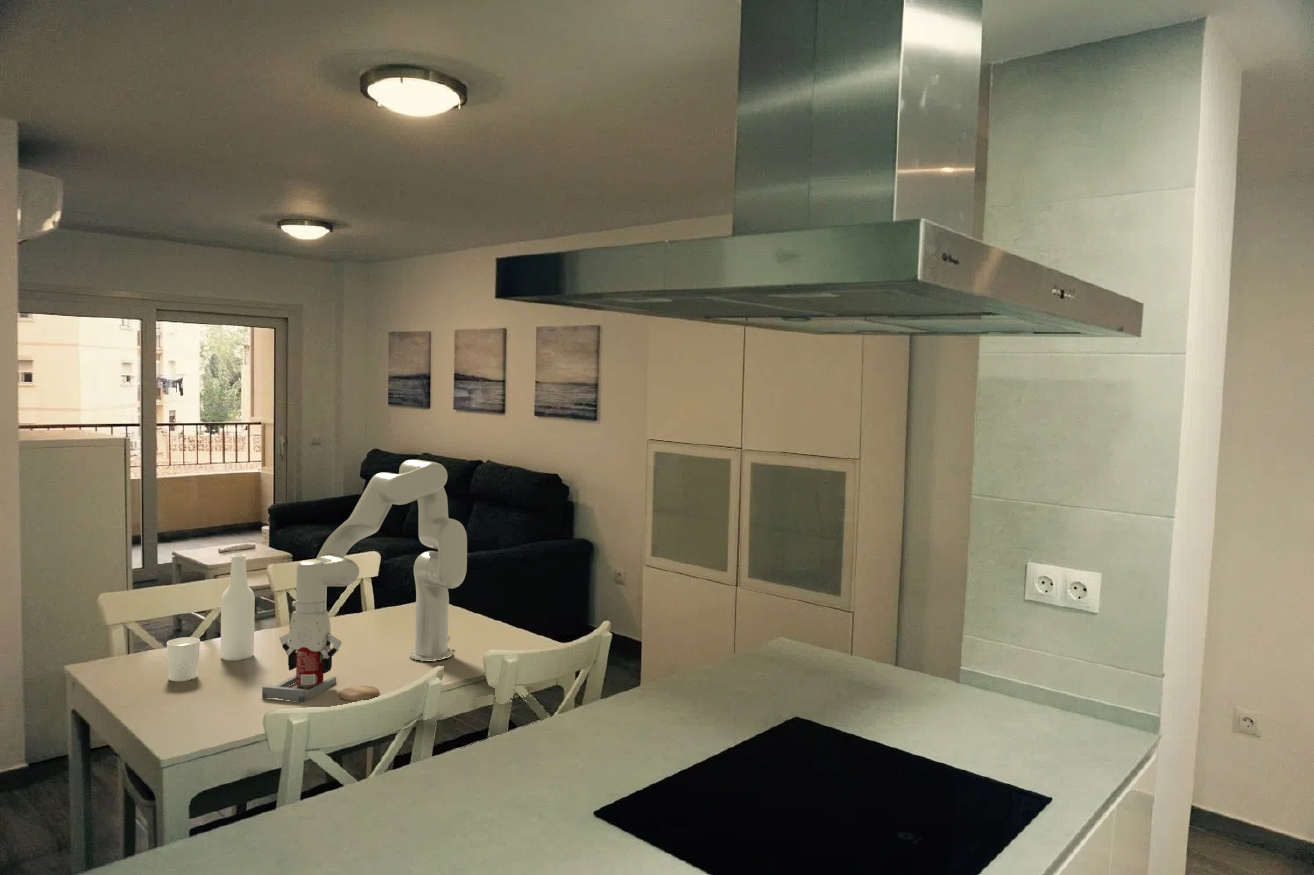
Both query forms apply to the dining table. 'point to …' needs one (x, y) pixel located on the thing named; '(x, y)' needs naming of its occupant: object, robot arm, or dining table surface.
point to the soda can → (309, 668)
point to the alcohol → (237, 614)
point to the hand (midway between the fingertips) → (309, 670)
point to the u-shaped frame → (294, 690)
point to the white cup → (183, 658)
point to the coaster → (358, 693)
